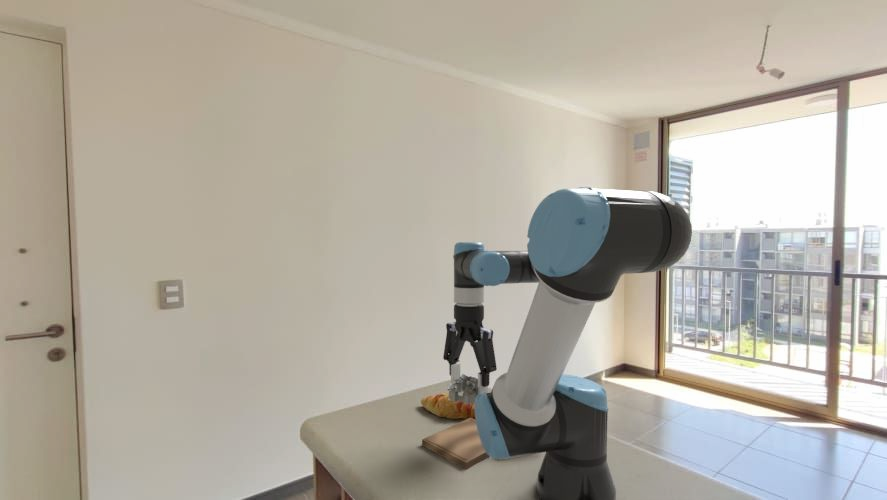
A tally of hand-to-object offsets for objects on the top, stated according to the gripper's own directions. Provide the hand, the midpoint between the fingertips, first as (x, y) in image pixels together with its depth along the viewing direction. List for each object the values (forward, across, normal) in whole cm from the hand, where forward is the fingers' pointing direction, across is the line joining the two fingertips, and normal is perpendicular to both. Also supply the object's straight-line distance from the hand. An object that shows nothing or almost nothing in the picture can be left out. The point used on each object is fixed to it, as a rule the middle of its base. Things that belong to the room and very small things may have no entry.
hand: (468, 393), depth 104 cm
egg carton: (+1, 0, +1) cm, 1 cm away
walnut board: (+13, 0, 0) cm, 13 cm away
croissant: (+13, +16, -10) cm, 23 cm away
